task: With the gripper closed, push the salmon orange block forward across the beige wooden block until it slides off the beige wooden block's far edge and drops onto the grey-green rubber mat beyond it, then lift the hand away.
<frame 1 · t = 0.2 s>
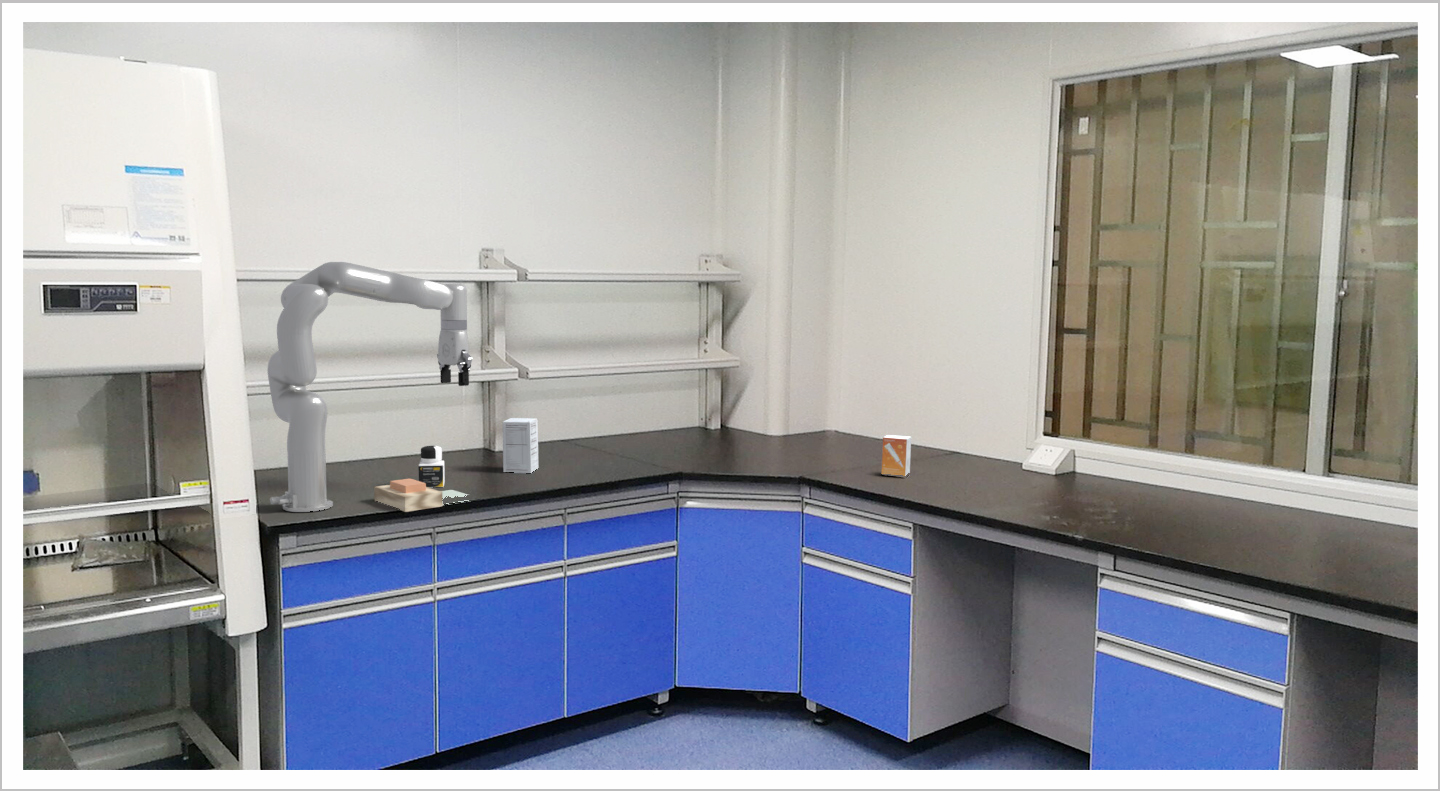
hand: (454, 384, 315), 31 cm above the lab bench, tool pointing down, fingers open, 9 cm apart
medicine bottle: (431, 486, 320), on the lab bench
small box: (895, 476, 347), on the lab bench
beige wooden block: (408, 503, 295), on the lab bench
salmon orange block: (407, 489, 294), point 4 cm above the lab bench, touching beige wooden block
supplement box: (521, 471, 346), on the lab bench
mat: (447, 497, 303), on the lab bench
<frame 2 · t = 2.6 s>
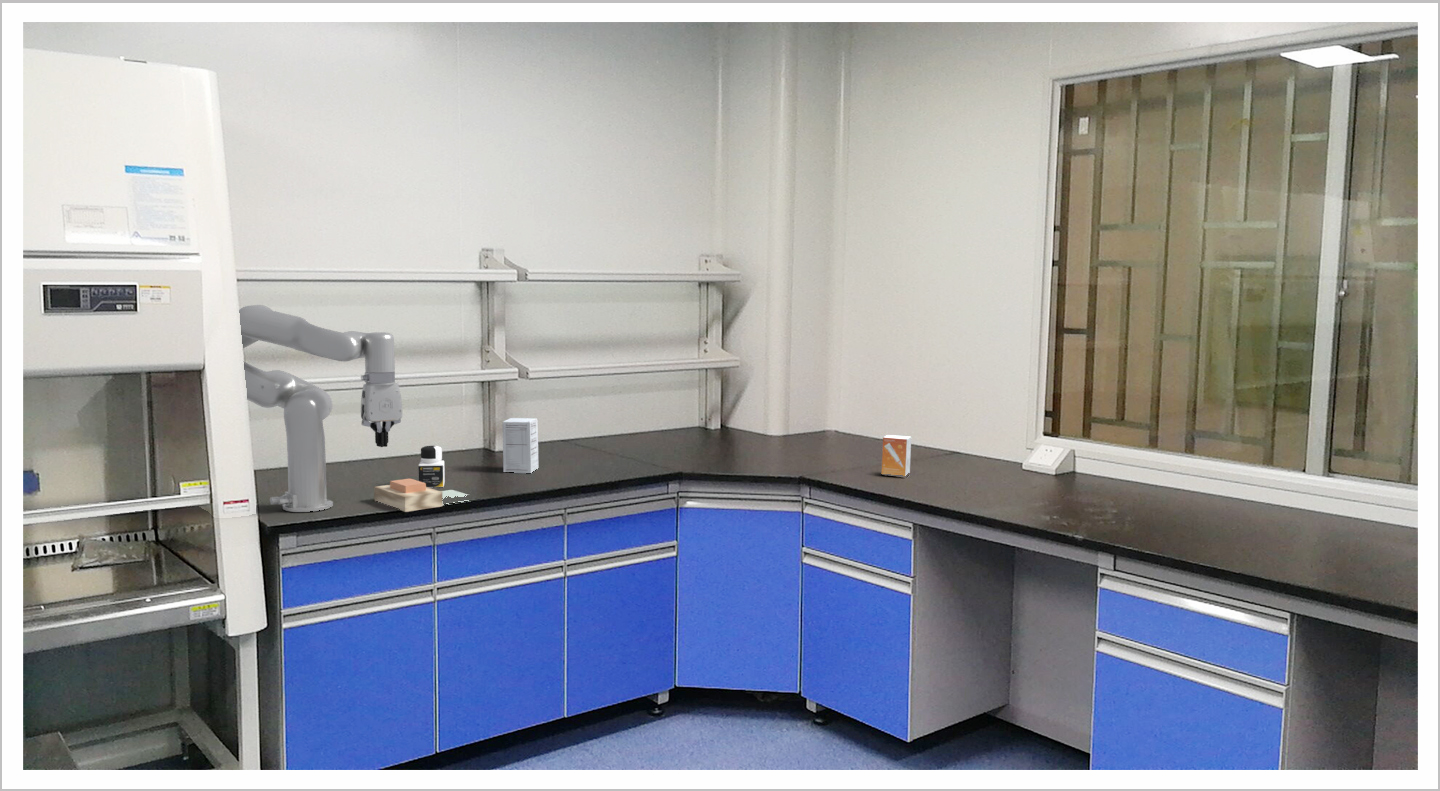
hand: (382, 446, 288), 17 cm above the lab bench, tool pointing down, fingers closed
nothing on the lab bench moved.
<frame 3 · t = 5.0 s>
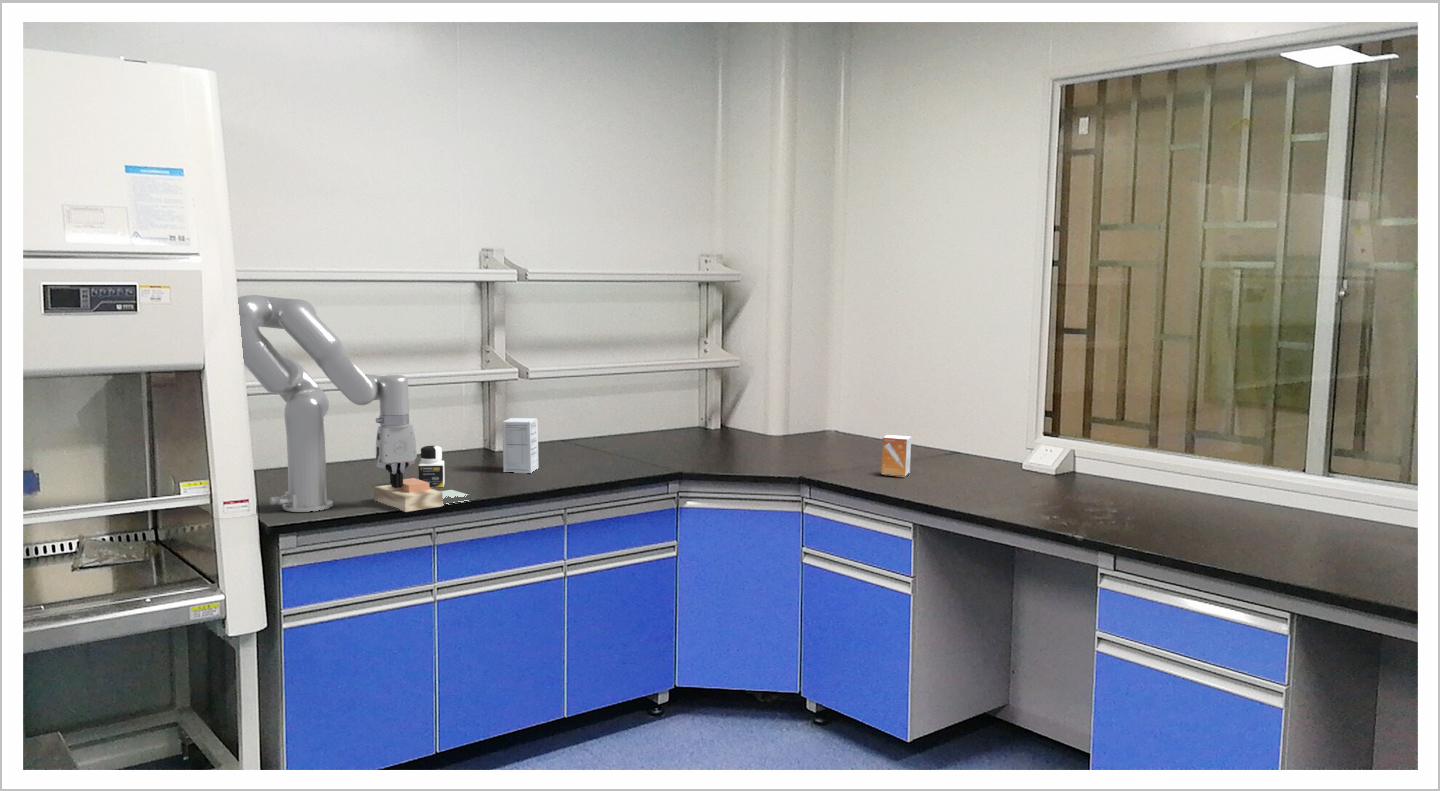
hand: (396, 487, 292), 5 cm above the lab bench, tool pointing down, fingers closed
salmon orange block: (411, 488, 295), point 4 cm above the lab bench, touching beige wooden block, gripper
everything else where it was.
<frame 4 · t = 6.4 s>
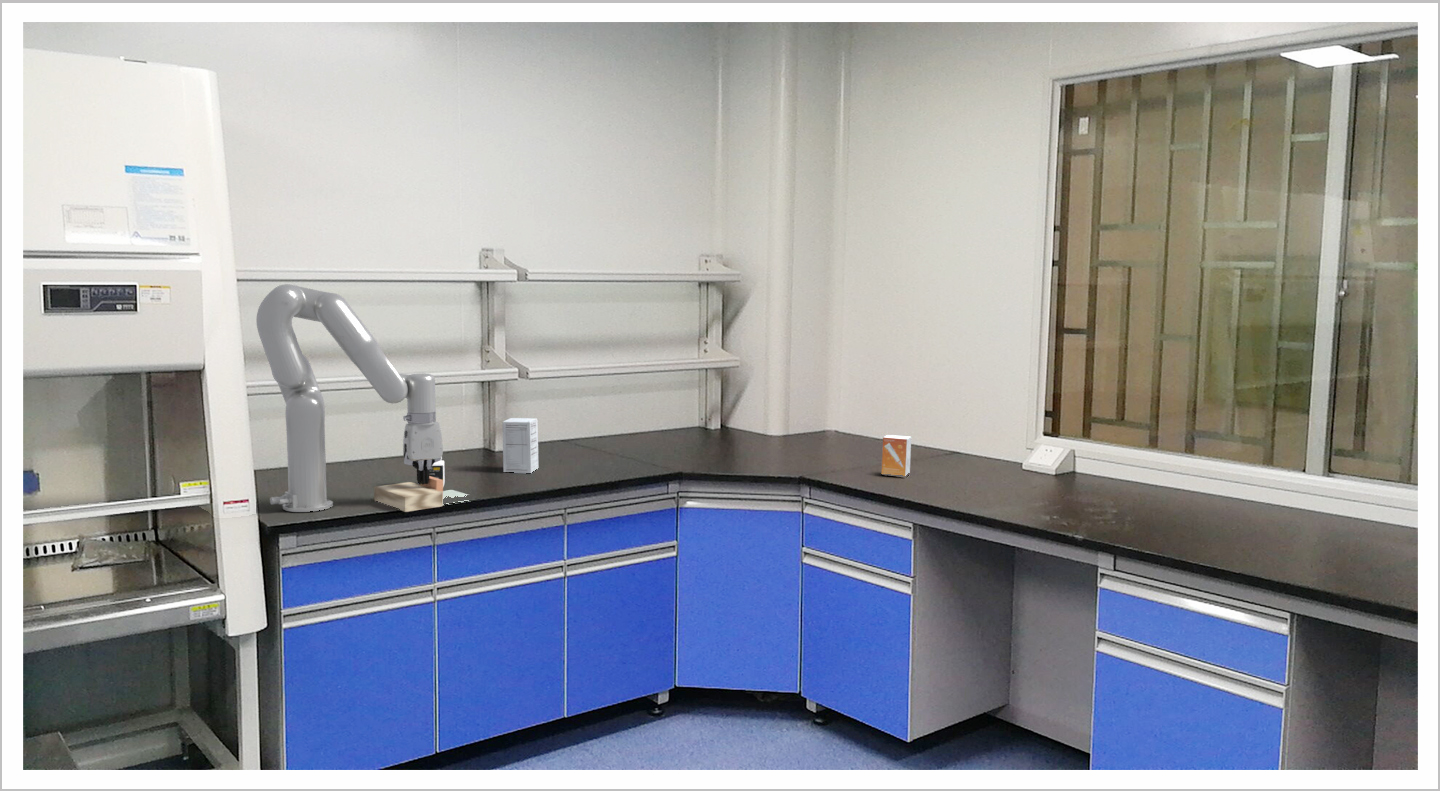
hand: (423, 483, 297), 5 cm above the lab bench, tool pointing down, fingers closed
salmon orange block: (428, 488, 298), point 3 cm above the lab bench, tilted 93°, touching gripper, mat
everything else where it was.
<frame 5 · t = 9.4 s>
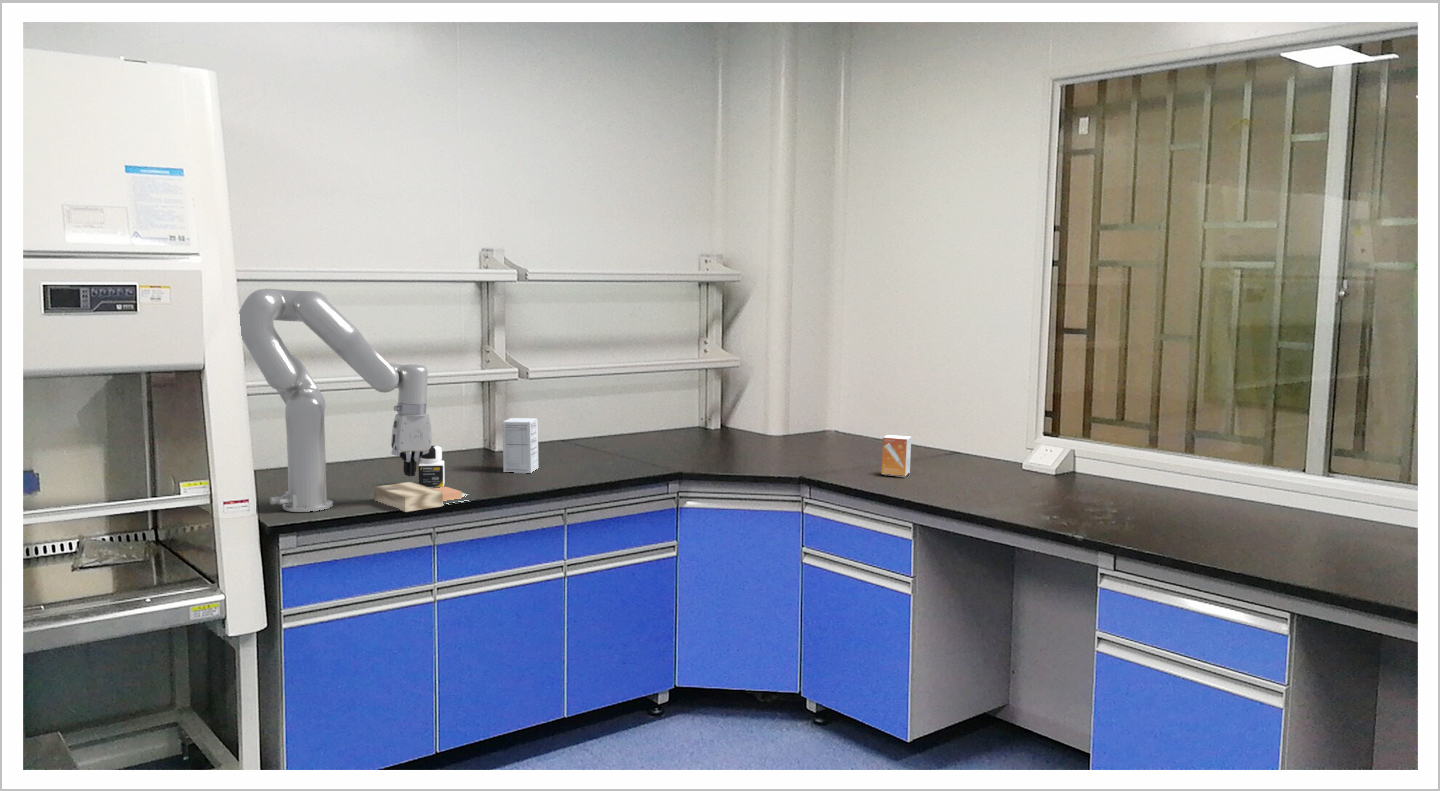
hand: (409, 475, 295), 8 cm above the lab bench, tool pointing down, fingers closed
salmon orange block: (444, 490, 302), point 2 cm above the lab bench, tilted 180°, touching mat
everything else where it was.
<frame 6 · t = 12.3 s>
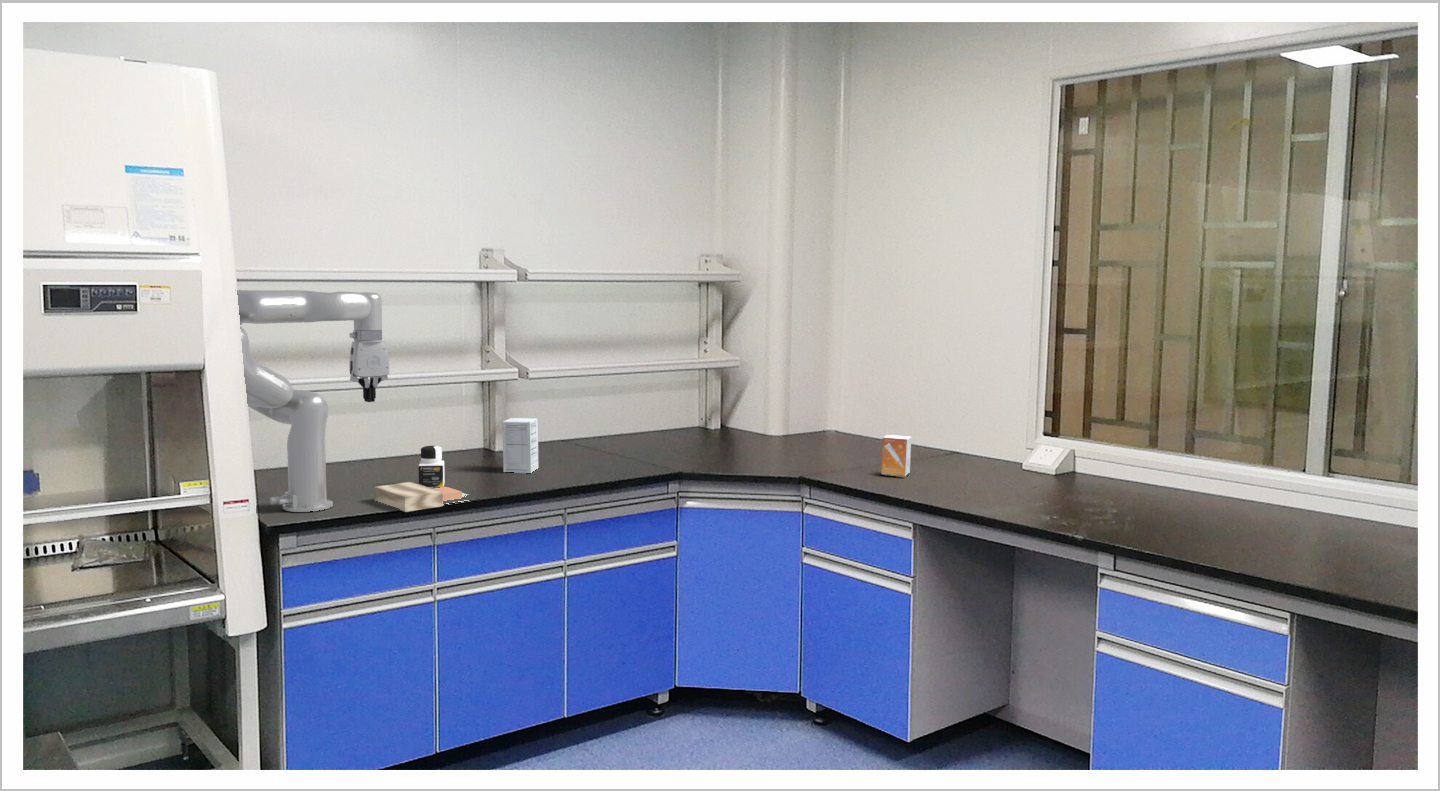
hand: (369, 401, 301), 27 cm above the lab bench, tool pointing down, fingers closed
nothing on the lab bench moved.
at the end: salmon orange block inside the target area on the mat (1.0 cm from its centre), point 2.3 cm above the mat's base; salmon orange block point 2.3 cm above the lab bench; salmon orange block touching mat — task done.
